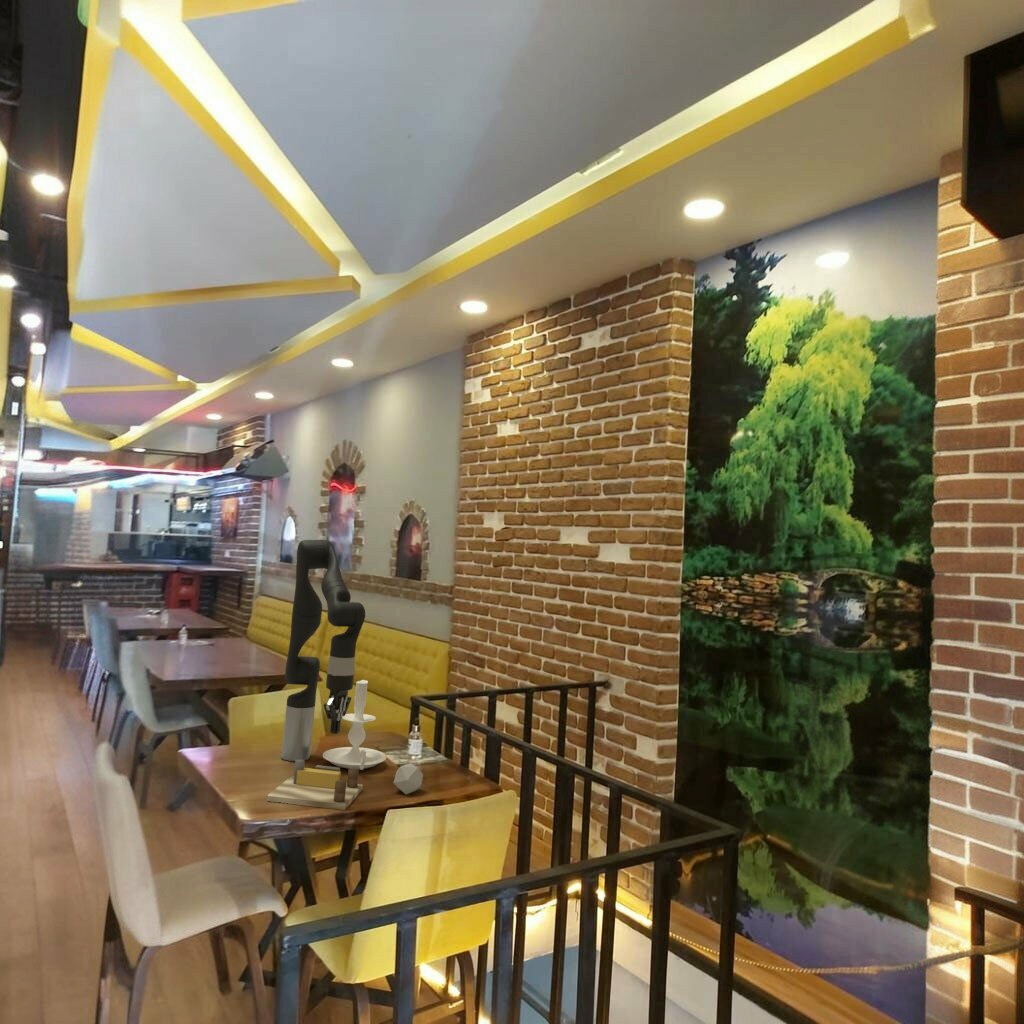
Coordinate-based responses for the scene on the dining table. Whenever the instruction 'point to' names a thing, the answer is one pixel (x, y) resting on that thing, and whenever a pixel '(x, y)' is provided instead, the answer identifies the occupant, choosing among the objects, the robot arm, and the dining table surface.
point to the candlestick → (356, 737)
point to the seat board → (319, 792)
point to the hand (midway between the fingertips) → (334, 733)
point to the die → (408, 778)
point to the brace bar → (314, 776)
